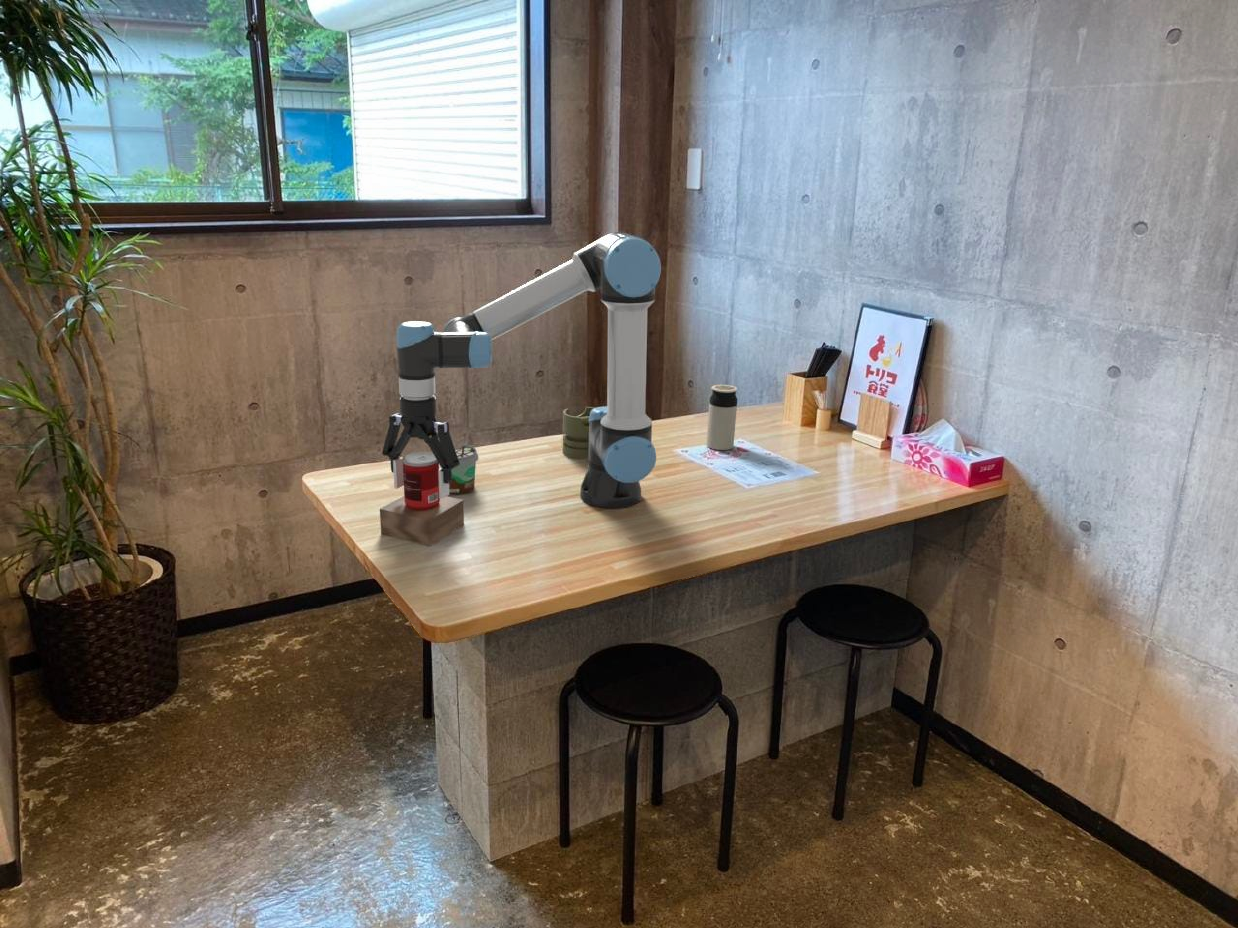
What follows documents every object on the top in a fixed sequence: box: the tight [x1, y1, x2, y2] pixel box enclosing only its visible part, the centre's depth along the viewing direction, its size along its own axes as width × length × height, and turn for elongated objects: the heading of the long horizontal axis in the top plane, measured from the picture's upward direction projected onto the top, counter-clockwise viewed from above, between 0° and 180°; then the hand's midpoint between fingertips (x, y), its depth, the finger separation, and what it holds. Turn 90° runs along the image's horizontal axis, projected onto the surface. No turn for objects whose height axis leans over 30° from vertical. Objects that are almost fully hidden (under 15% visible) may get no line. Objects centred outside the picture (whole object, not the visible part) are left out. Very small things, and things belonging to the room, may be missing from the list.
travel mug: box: [706, 384, 738, 451], centre depth 257 cm, size 8×8×18 cm
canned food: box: [403, 451, 440, 511], centre depth 194 cm, size 8×8×11 cm
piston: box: [562, 406, 595, 460], centre depth 249 cm, size 11×12×11 cm
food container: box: [448, 443, 480, 496], centre depth 219 cm, size 12×6×10 cm, turn 168°
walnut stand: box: [379, 495, 465, 547], centre depth 197 cm, size 13×13×6 cm
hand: (421, 491), depth 194 cm, fingers open, 11 cm apart
